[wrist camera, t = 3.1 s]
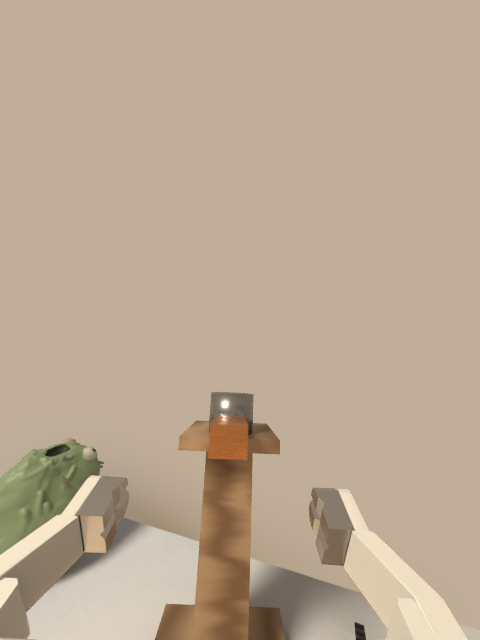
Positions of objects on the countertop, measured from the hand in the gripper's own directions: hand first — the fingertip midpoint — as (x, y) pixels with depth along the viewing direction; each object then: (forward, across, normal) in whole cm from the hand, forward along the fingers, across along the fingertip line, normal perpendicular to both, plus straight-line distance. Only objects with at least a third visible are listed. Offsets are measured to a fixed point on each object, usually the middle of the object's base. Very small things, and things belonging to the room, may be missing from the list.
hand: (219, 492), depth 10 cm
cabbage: (+19, +33, +43) cm, 58 cm away
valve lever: (+14, 0, +10) cm, 17 cm away
